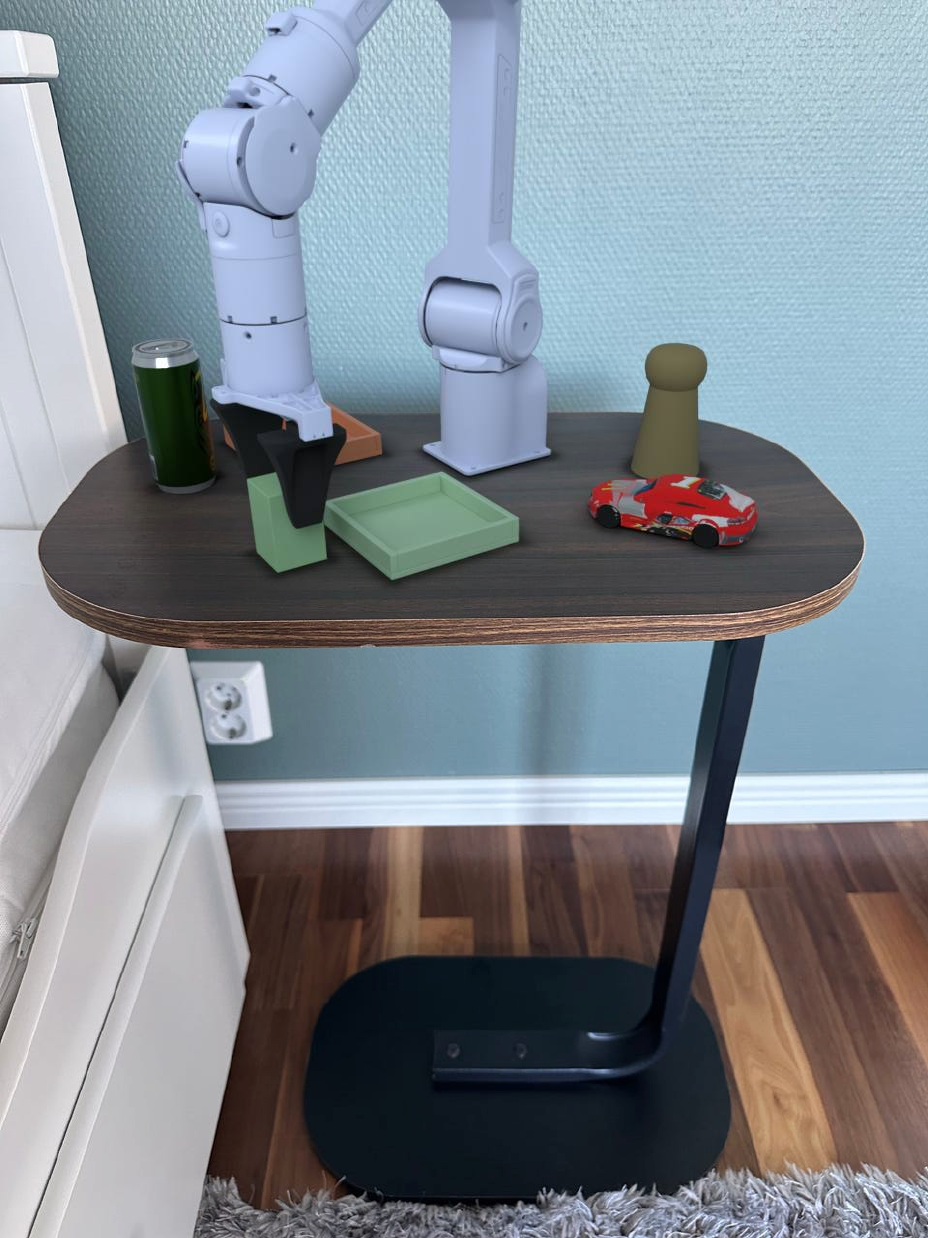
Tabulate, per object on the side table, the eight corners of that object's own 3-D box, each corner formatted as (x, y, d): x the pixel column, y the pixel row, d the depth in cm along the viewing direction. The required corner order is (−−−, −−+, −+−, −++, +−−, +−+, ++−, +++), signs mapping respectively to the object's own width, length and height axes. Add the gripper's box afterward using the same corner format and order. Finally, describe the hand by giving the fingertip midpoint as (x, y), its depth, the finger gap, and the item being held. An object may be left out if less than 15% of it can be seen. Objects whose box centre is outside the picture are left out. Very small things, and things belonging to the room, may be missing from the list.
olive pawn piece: (683, 487, 81) (699, 359, 76) (619, 472, 84) (629, 349, 79) (709, 464, 86) (725, 342, 80) (647, 451, 89) (658, 332, 83)
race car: (577, 523, 76) (579, 476, 74) (603, 498, 80) (606, 453, 78) (741, 558, 70) (748, 509, 68) (760, 530, 74) (767, 482, 72)
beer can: (167, 500, 80) (140, 359, 74) (147, 480, 84) (120, 344, 78) (227, 486, 83) (206, 348, 76) (205, 466, 86) (184, 334, 80)
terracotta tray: (330, 420, 97) (328, 401, 96) (382, 454, 89) (381, 433, 88) (225, 442, 92) (222, 423, 91) (271, 480, 84) (268, 459, 83)
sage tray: (442, 492, 81) (442, 470, 80) (519, 541, 73) (519, 517, 72) (324, 524, 76) (321, 501, 75) (392, 580, 68) (390, 555, 67)
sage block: (304, 539, 74) (297, 466, 70) (327, 559, 71) (320, 484, 68) (256, 552, 72) (246, 478, 69) (277, 573, 69) (268, 497, 66)
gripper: (168, 302, 65) (198, 484, 72) (247, 349, 55) (273, 557, 62) (264, 289, 69) (284, 465, 76) (355, 331, 58) (369, 531, 65)
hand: (285, 505), depth 69 cm, fingers open, 7 cm apart
